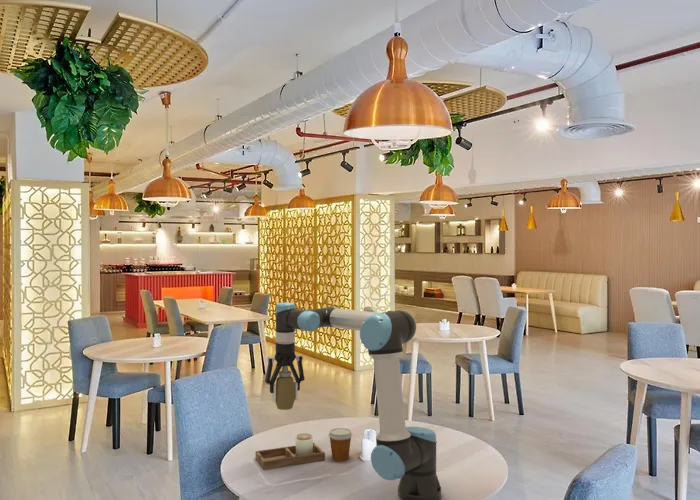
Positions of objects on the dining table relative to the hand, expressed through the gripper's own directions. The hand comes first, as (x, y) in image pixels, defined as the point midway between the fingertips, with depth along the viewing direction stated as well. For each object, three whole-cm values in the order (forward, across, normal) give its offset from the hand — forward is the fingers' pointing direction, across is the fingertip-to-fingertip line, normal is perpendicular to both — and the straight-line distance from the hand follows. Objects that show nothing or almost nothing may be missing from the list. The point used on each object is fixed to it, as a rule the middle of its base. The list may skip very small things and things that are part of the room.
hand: (284, 399), depth 233 cm
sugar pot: (+25, -10, -4) cm, 27 cm away
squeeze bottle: (+3, 0, 0) cm, 3 cm away
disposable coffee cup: (+26, -23, +3) cm, 35 cm away
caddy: (+26, -4, -4) cm, 27 cm away
